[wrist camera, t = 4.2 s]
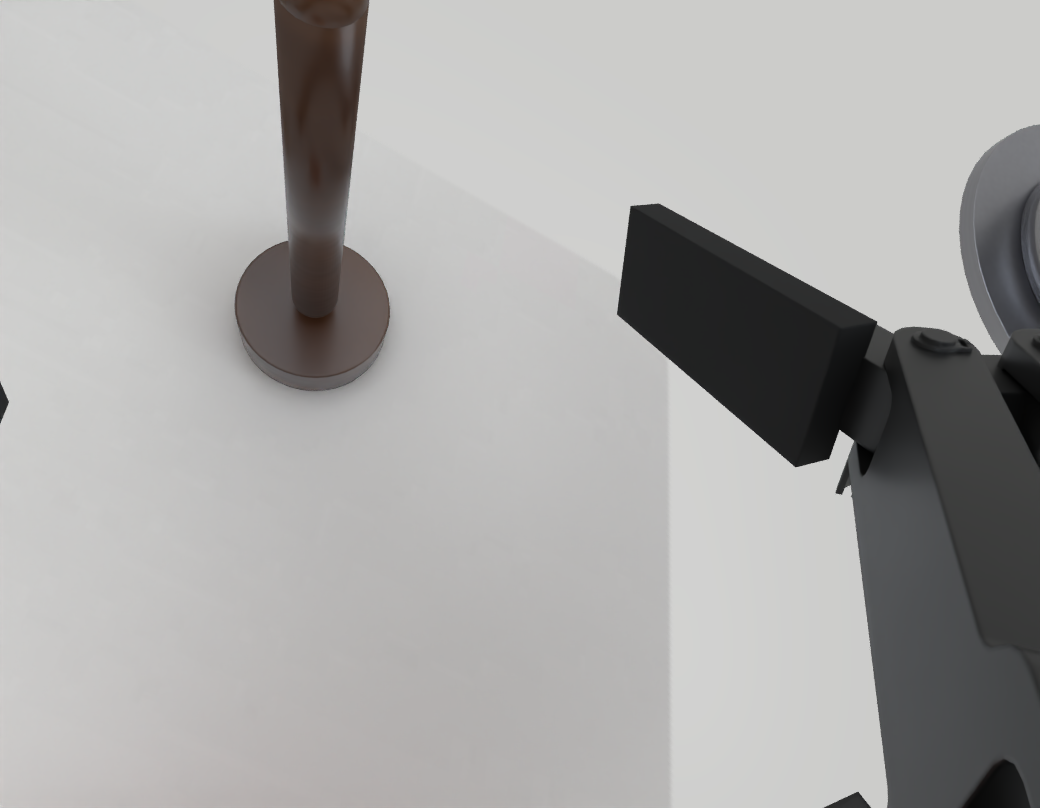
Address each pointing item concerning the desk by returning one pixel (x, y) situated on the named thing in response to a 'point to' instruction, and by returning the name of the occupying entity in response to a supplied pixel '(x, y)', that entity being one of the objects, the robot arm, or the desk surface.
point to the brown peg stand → (315, 212)
